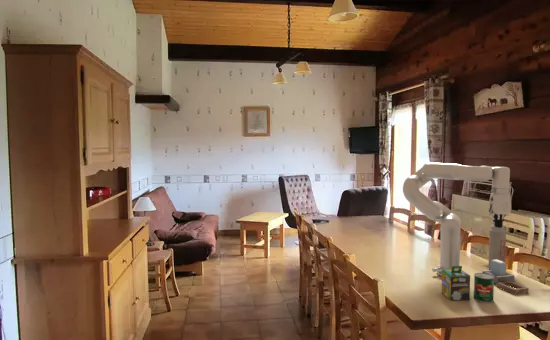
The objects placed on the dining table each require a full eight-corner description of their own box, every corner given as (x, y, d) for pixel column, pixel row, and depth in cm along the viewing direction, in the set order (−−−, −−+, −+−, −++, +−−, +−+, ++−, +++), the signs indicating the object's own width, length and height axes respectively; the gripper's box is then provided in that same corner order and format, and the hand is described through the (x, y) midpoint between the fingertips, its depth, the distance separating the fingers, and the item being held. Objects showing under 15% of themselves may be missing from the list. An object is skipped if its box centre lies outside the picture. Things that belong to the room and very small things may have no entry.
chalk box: (460, 292, 186) (460, 262, 185) (470, 300, 177) (471, 268, 176) (440, 293, 186) (441, 262, 185) (450, 300, 177) (450, 268, 176)
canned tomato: (487, 295, 182) (487, 272, 181) (497, 302, 174) (498, 278, 174) (470, 296, 182) (470, 272, 181) (479, 303, 174) (480, 278, 173)
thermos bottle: (508, 271, 217) (509, 221, 215) (496, 272, 214) (498, 221, 213) (496, 267, 224) (498, 218, 222) (484, 268, 222) (486, 219, 220)
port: (497, 285, 196) (497, 276, 195) (482, 278, 205) (482, 270, 205) (514, 283, 198) (514, 275, 198) (498, 277, 208) (498, 269, 207)
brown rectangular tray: (514, 294, 183) (514, 290, 183) (497, 287, 193) (497, 282, 193) (528, 292, 185) (528, 288, 185) (510, 285, 195) (510, 281, 195)
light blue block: (499, 283, 198) (500, 262, 198) (490, 279, 204) (491, 259, 203) (505, 282, 199) (506, 262, 198) (496, 278, 205) (496, 259, 204)
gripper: (493, 192, 193) (491, 229, 195) (518, 191, 197) (516, 228, 198) (482, 190, 200) (480, 226, 202) (506, 190, 204) (504, 225, 206)
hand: (498, 227), depth 200 cm, fingers closed
